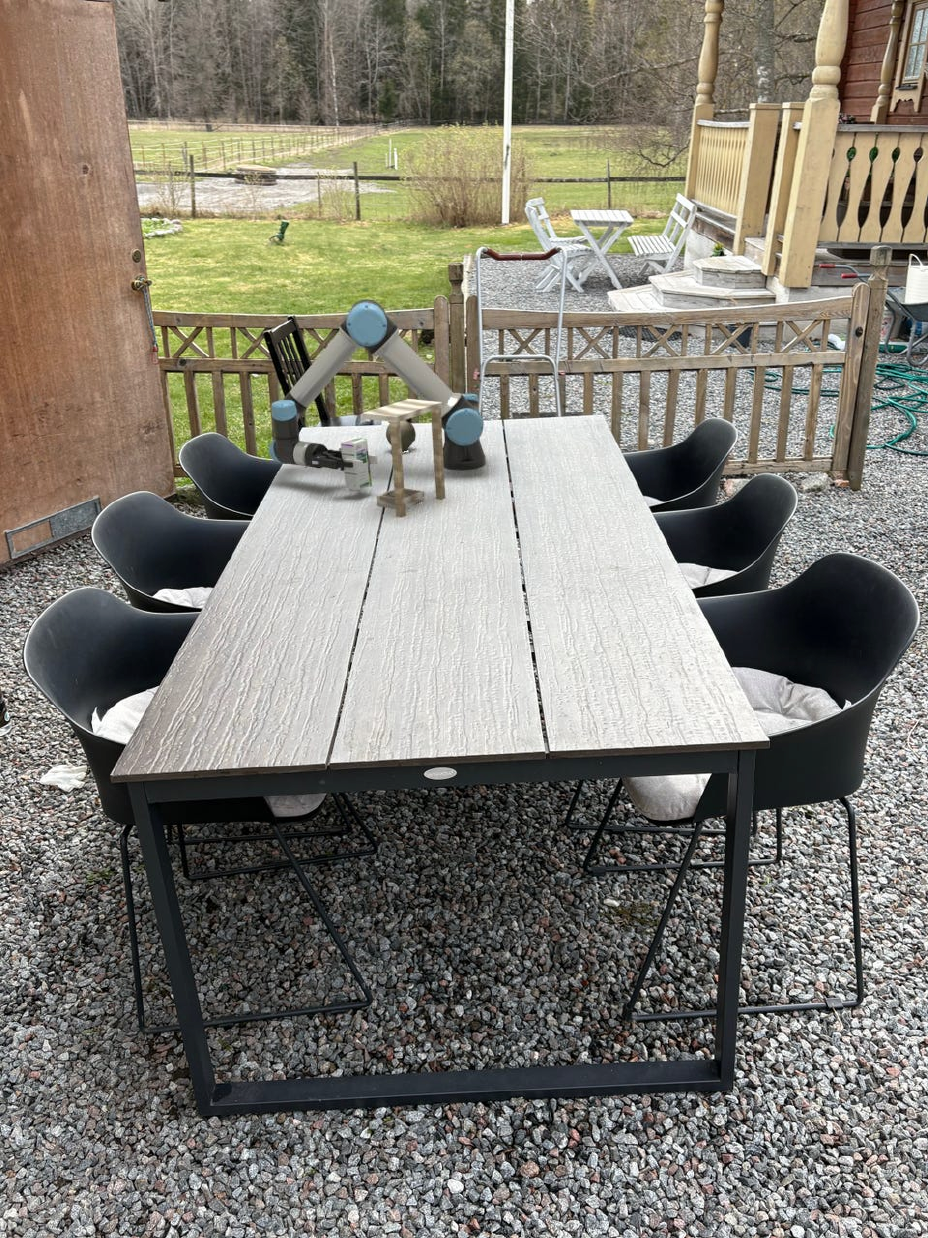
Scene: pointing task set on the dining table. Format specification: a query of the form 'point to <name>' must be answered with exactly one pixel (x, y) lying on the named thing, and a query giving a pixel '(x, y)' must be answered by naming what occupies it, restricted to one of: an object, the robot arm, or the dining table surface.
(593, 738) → the dining table surface
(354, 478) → the syrup box
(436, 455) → the awning stand
